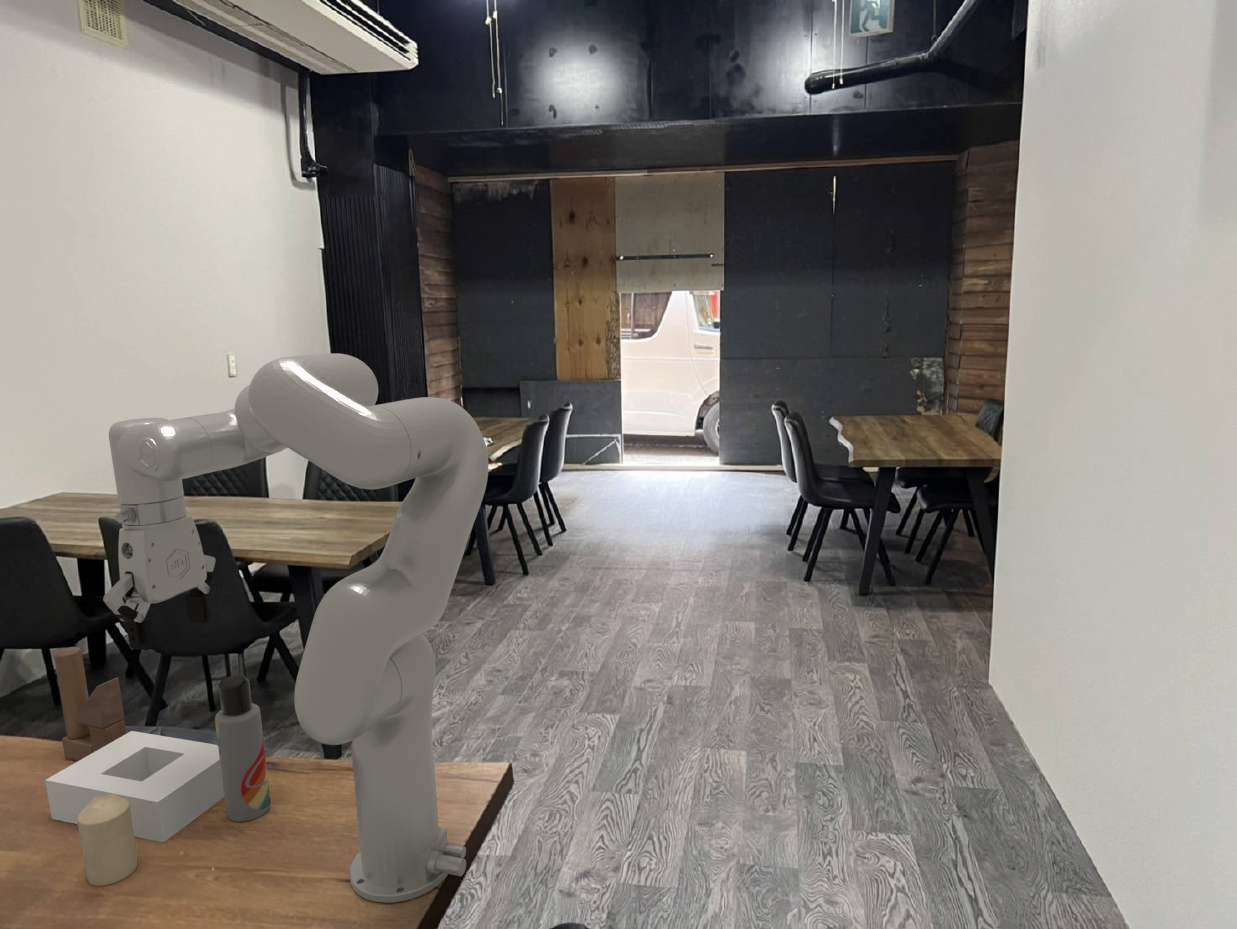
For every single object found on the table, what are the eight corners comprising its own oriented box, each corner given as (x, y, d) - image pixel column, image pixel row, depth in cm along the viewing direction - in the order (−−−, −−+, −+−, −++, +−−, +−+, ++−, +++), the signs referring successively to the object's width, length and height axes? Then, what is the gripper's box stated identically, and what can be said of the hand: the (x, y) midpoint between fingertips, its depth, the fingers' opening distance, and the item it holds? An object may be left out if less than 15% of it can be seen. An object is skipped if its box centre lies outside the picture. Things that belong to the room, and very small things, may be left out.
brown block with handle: (109, 771, 126) (93, 663, 123) (64, 759, 130) (47, 653, 127) (131, 759, 129) (116, 653, 126) (86, 747, 133) (70, 644, 130)
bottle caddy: (240, 785, 121) (236, 748, 120) (163, 842, 108) (157, 802, 107) (136, 766, 127) (131, 730, 126) (51, 818, 114) (45, 780, 113)
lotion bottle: (279, 806, 116) (264, 675, 112) (242, 828, 111) (226, 691, 107) (255, 794, 119) (240, 666, 115) (218, 815, 114) (201, 682, 110)
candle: (101, 892, 99) (89, 818, 97) (78, 877, 102) (66, 805, 100) (146, 866, 103) (136, 795, 102) (124, 852, 106) (113, 783, 105)
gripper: (119, 529, 98) (140, 663, 101) (225, 498, 114) (240, 613, 117) (72, 527, 100) (93, 658, 103) (182, 497, 116) (198, 610, 119)
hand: (171, 634), depth 110 cm, fingers open, 9 cm apart
